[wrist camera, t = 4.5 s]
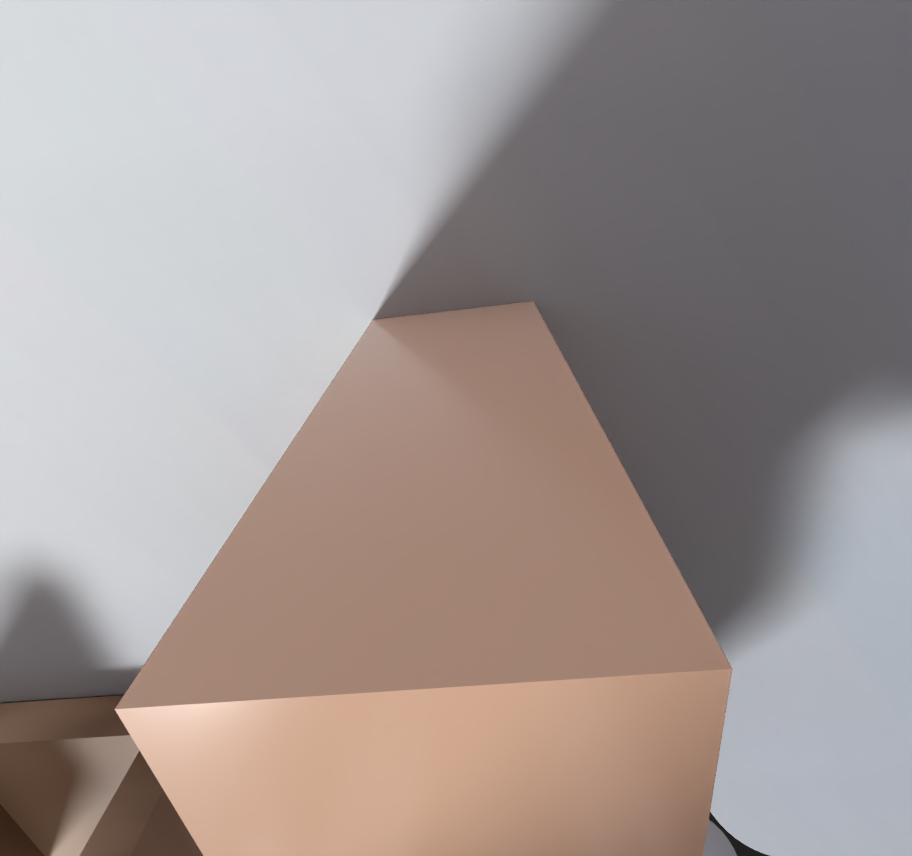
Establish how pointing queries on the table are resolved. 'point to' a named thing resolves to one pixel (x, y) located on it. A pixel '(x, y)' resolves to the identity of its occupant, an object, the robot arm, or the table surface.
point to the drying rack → (80, 785)
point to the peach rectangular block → (440, 627)
